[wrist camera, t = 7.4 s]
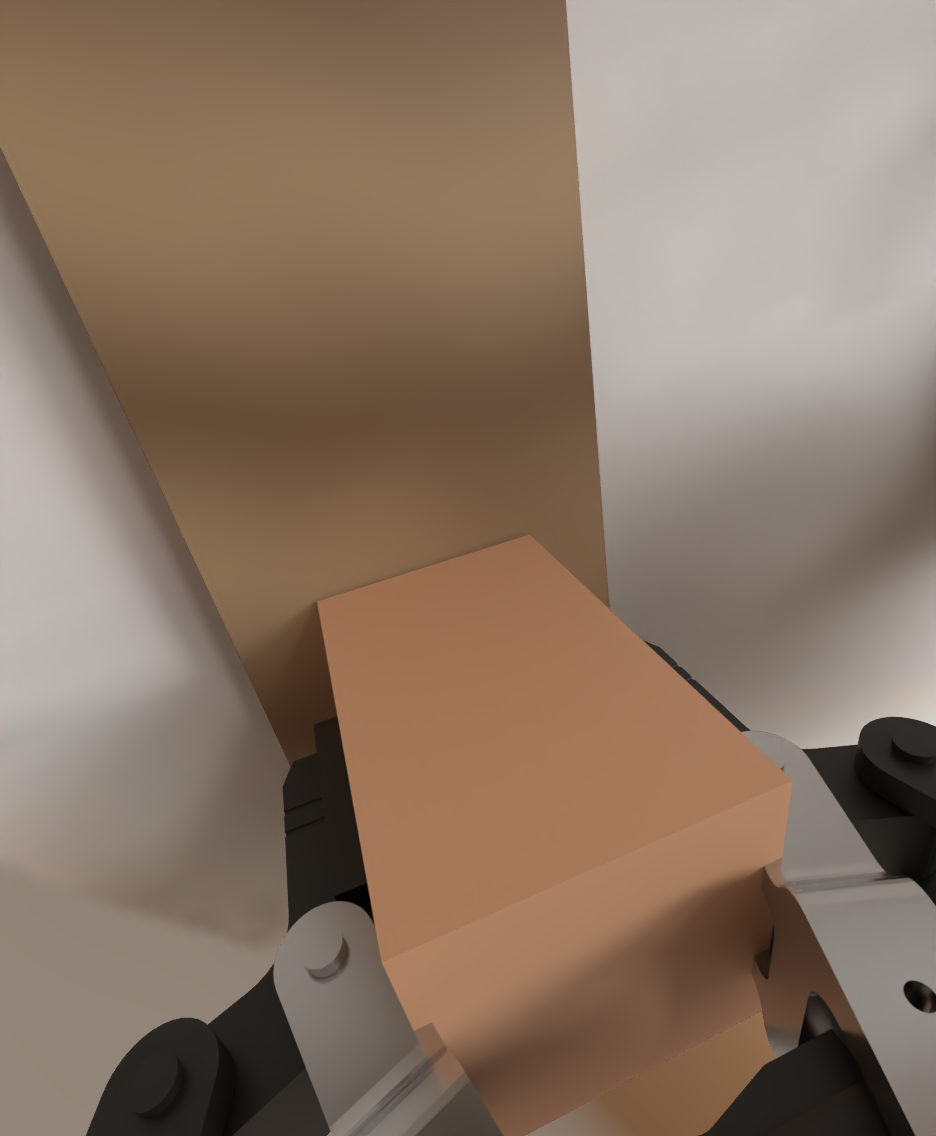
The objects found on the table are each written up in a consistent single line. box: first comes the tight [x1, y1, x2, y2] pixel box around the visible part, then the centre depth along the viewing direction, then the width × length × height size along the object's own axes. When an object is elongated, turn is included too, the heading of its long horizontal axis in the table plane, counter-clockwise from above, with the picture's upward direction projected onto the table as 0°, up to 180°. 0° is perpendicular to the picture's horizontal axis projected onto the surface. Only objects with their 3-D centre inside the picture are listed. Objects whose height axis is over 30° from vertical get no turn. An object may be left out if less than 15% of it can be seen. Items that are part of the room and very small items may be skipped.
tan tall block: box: [317, 534, 793, 1136], centre depth 10 cm, size 5×4×7 cm
